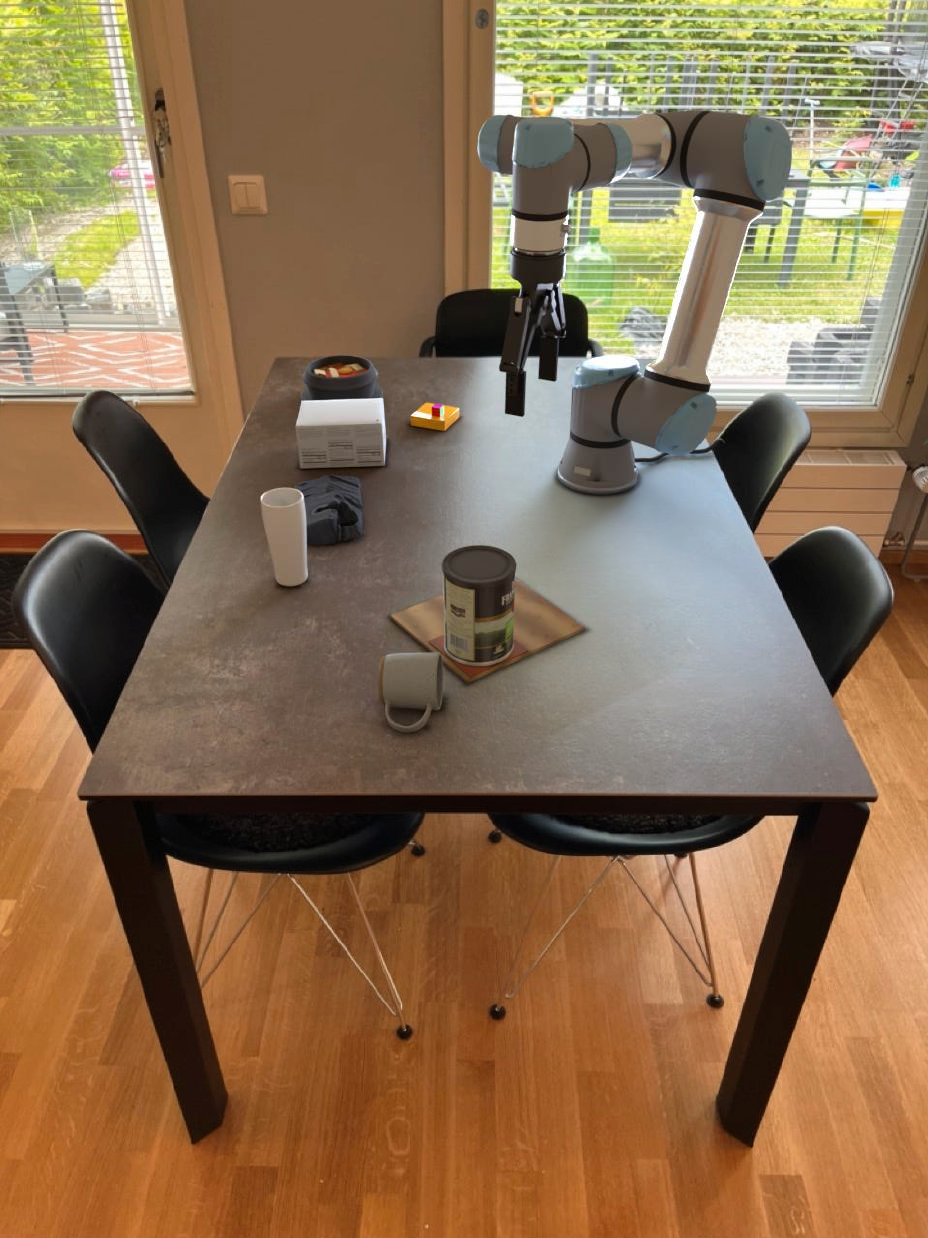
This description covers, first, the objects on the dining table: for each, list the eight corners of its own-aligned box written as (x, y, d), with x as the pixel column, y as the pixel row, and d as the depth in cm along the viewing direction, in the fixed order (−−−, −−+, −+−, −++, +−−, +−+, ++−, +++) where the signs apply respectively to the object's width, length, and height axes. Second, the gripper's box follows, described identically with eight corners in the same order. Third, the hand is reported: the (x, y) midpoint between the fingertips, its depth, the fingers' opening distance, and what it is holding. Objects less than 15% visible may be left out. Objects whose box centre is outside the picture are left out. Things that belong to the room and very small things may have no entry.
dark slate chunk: (372, 486, 185) (371, 464, 182) (361, 545, 167) (359, 521, 164) (292, 486, 185) (289, 464, 182) (272, 545, 167) (269, 521, 164)
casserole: (381, 423, 210) (379, 386, 205) (295, 425, 209) (291, 388, 204) (385, 380, 230) (383, 346, 225) (306, 382, 230) (303, 347, 225)
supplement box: (386, 439, 203) (384, 396, 197) (385, 467, 192) (382, 422, 187) (305, 441, 202) (300, 398, 197) (299, 469, 191) (294, 424, 186)
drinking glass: (320, 572, 160) (311, 490, 151) (301, 593, 155) (291, 510, 146) (283, 565, 162) (272, 484, 153) (263, 586, 156) (251, 503, 148)
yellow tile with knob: (410, 425, 209) (410, 406, 206) (426, 411, 215) (425, 393, 212) (444, 431, 206) (444, 412, 204) (459, 417, 212) (459, 398, 210)
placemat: (503, 573, 159) (504, 569, 159) (585, 630, 146) (585, 625, 145) (390, 618, 149) (390, 614, 148) (467, 684, 135) (467, 679, 135)
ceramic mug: (386, 683, 136) (383, 639, 131) (444, 685, 135) (443, 641, 131) (374, 734, 127) (371, 689, 123) (437, 737, 126) (435, 692, 122)
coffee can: (518, 629, 145) (521, 548, 137) (507, 671, 136) (509, 587, 128) (451, 621, 146) (450, 540, 138) (436, 662, 138) (434, 579, 130)
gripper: (531, 277, 120) (524, 435, 132) (593, 227, 138) (582, 369, 151) (475, 270, 122) (474, 425, 135) (544, 221, 140) (537, 362, 153)
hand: (531, 396), depth 143 cm, fingers open, 13 cm apart
